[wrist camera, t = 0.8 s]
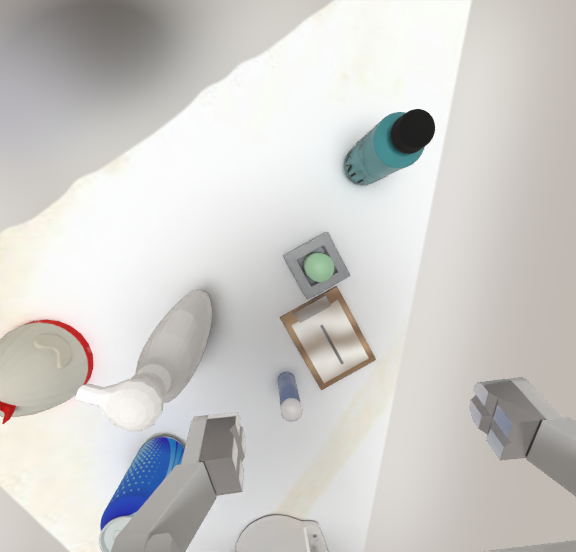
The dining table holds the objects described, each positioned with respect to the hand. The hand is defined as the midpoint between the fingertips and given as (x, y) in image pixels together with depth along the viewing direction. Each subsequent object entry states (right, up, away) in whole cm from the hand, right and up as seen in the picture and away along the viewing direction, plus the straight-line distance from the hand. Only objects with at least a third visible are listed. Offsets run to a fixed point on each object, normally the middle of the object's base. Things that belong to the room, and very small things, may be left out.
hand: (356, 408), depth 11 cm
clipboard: (+5, -6, +44) cm, 45 cm away
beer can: (-24, -27, +45) cm, 58 cm away
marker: (-3, -14, +45) cm, 47 cm away
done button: (+2, +6, +41) cm, 42 cm away
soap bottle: (-19, -3, +42) cm, 46 cm away
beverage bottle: (+9, +22, +41) cm, 48 cm away
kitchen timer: (-42, -9, +41) cm, 59 cm away
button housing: (+2, +6, +43) cm, 43 cm away
